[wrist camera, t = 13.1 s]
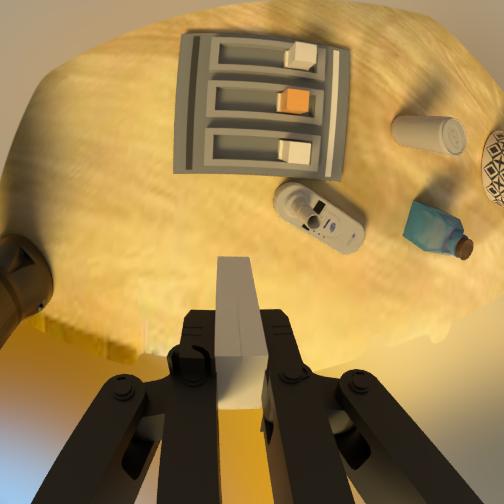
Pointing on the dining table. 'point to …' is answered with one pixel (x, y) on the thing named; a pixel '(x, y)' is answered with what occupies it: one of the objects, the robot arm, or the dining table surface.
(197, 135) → the panel
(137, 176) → the dining table surface
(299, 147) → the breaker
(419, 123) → the beverage can
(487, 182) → the planter
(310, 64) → the block
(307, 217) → the electronic device
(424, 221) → the perfume bottle
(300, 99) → the block
